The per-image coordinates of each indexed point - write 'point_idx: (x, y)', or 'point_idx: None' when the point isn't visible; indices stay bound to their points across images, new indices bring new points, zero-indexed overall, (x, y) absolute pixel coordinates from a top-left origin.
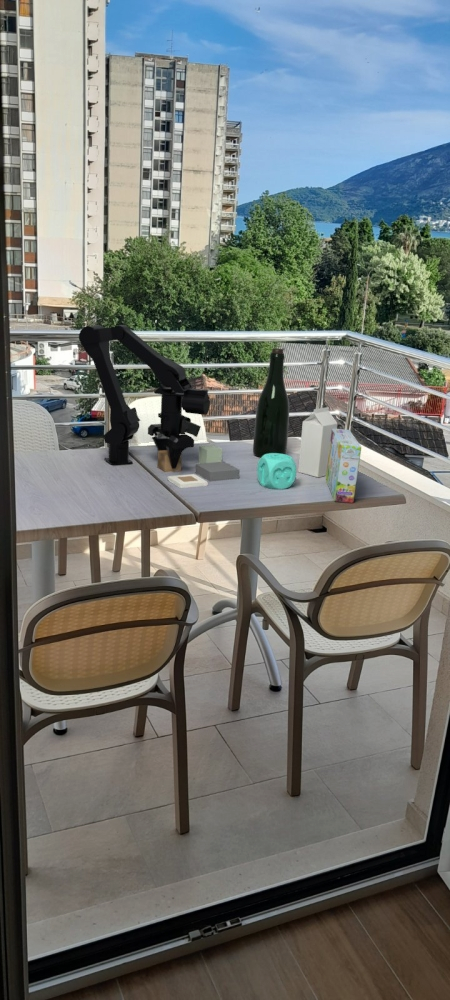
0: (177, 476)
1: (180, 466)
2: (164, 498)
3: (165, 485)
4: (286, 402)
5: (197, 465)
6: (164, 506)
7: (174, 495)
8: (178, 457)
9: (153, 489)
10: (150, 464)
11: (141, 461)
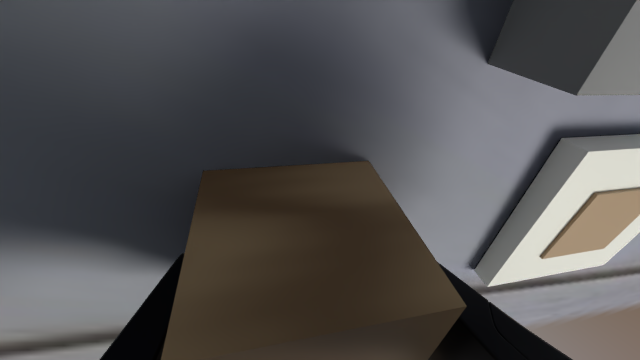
0: (526, 253)
1: (384, 190)
2: (589, 299)
3: (516, 284)
4: None
5: (611, 93)
6: (618, 303)
7: (603, 277)
8: (487, 314)
9: (513, 313)
10: (124, 300)
11: (19, 335)
